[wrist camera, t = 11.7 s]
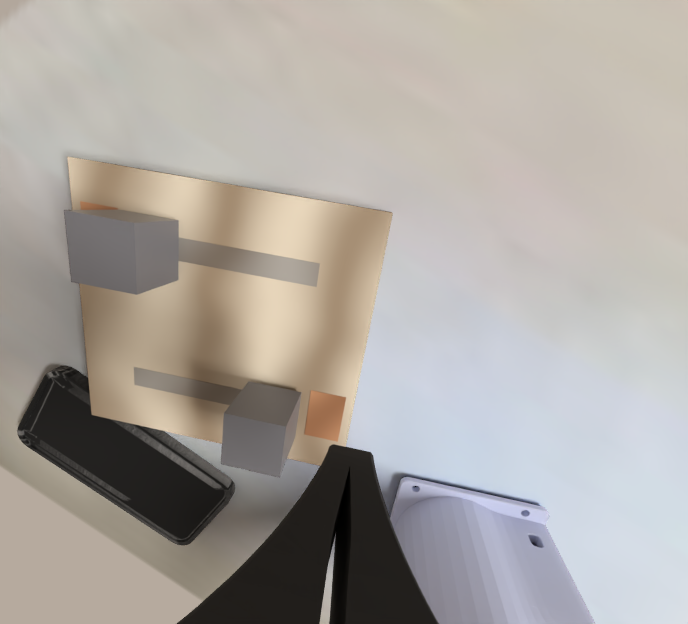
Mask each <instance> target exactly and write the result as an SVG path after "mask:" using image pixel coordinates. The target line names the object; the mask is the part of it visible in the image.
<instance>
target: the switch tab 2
mask: <svg viewBox="0 0 688 624" xmlns="http://www.w3.org/2000/svg"><path fill="white" fill-rule="evenodd" d="M301 393H302V392H298V391H293V390H288V389H283V388H279V387H274V386H269V385H264V384H260V383H255V382H250V381H249V382H248V383H247V384H246V385H245V387H244V388H243V389H242V391H241V392H240V393H239V394H238V396H237V397H236V398H235V399H234V401H233V402H232V403H231V405H230V406H229V407H228V408H227V410H226V411H225V412H224V418H223V436H222V454H221V464H223V465H227V466H232V467H236V468H241V469H245V470H249V471H254V472H258V473H263V474H267V475H271V476H276V477H280V475H281V473H282V470H283V467H284V465H285V462H286V460H287V457H288V455H289V452H290V449H291V447H292V444H293V442H294V439H295V435H296V428H297V421H298V414H299V407H300V400H301Z"/></svg>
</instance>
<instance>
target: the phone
mask: <svg viewBox="0 0 688 624" xmlns="http://www.w3.org/2000/svg"><path fill="white" fill-rule="evenodd" d="M17 432H18V436H19V438H20V440H21V441H22V442H23V443H24V444H25V445H26V446H27V447H29V448H30V449H32V450H33V451H35V452H36V453H38V454H39V455H41V456H42V457H44V458H46V459H47V460H49V461H50V462H52V463H53V464H55V465H56V466H58V467H59V468H61V469H62V470H64V471H65V472H67V473H68V474H70V475H71V476H73V477H74V478H76V479H77V480H79V481H80V482H82V483H83V484H85V485H87V486H88V487H90V488H91V489H93V490H94V491H96V492H97V493H99V494H100V495H102V496H103V497H105V498H106V499H108V500H109V501H111V502H112V503H114V504H115V505H117V506H118V507H120V508H121V509H123V510H124V511H126V512H127V513H129V514H130V515H132V516H133V517H135V518H137V519H138V520H140V521H141V522H143V523H144V524H146V525H147V526H149V527H150V528H152V529H153V530H155V531H156V532H158V533H159V534H161V535H162V536H164V537H165V538H167V539H168V540H170V541H171V542H173V543H175V544H178V545H188V544H190V543H191V542H192V541H193V540H194V539H195V538H196V537H197V536H198V535H199V534H200V533H201V532H202V530H203V529H204V528H205V527H206V526H207V525H208V524H209V523H210V522H211V521H212V520H213V519H214V518H215V516H216V515H217V514H218V513H219V512H220V511H221V510H222V509H223V508H224V507H225V506H226V505H227V504H228V502H229V501H230V499H231V497H232V495H233V493H234V491H235V485H234V483H233V481H232V480H231V479H230V478H229V477H228V476H227V475H225V474H224V473H223V472H221V471H220V470H218V469H217V468H215V467H214V466H213V465H211V464H210V463H208V462H207V461H205V460H204V459H203V458H201V457H200V456H198V455H197V454H195V453H194V452H193V451H191V450H190V449H188V448H187V447H185V446H184V445H183V444H181V443H180V442H178V441H177V440H175V439H174V438H173V437H171V436H170V435H168V434H167V433H166V432H164V431H162V430H158V429H153V428H149V427H144V426H140V425H135V424H131V423H126V422H122V421H117V420H113V419H108V418H104V417H99V416H95V415H92V412H91V402H90V391H89V380H88V378H87V377H86V376H84V375H83V374H81V373H80V372H79V371H77V370H76V369H74V368H72V367H68V366H61V367H59V368H57V369H55V370H53V371H51V372H49V373H47V374H46V375H45V376H44V378H43V380H42V382H41V384H40V386H39V388H38V390H37V392H36V394H35V396H34V397H33V399H32V401H31V403H30V405H29V407H28V409H27V411H26V413H25V415H24V417H23V419H22V421H21V423H20V425H19V426H18V430H17Z"/></svg>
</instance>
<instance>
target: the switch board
mask: <svg viewBox="0 0 688 624" xmlns="http://www.w3.org/2000/svg"><path fill="white" fill-rule="evenodd" d="M67 158H68V168H69V179H70V190H71V200H72V210H125V211H131V212H136V213H142V214H147V215H153V216H158V217H164V218H169V219H175V220H179V260H178V280H177V281H175V282H172V283H169V284H166V285H163V286H160V287H158V288H155V289H152V290H149V291H146V292H143V293H141V294H138V295H135V294H130V293H125V292H120V291H115V290H110V289H105V288H100V287H95V286H90V285H85V284H80V283H79V285H80V296H81V306H82V317H83V327H84V338H85V349H86V359H87V370H88V380H89V391H90V402H91V412H92V415H95V416H99V417H104V418H108V419H113V420H117V421H122V422H126V423H131V424H135V425H140V426H144V427H149V428H153V429H158V430H162V431H167V432H171V433H176V434H180V435H185V436H189V437H194V438H198V439H203V440H207V441H212V442H216V443H221V444H222V436H223V418H224V412H225V411H226V410H227V408H228V407H229V406H230V405H231V403H232V402H233V401H234V399H235V398H236V397H237V396H238V394H239V393H240V392H241V391H242V389H243V388H244V387H245V385H246V384H247V383H248V382H249V381H250V382H255V383H260V384H264V385H269V386H274V387H279V388H283V389H288V390H293V391H298V392H302V393H301V400H300V407H299V414H298V421H297V428H296V435H295V439H294V442H293V444H292V447H291V449H290V452H289V455H288V457H287V458H288V459H293V460H297V461H302V462H306V463H311V464H315V465H319V466H321V464H322V462H323V460H324V458H325V456H326V454H327V452H328V449H329V446H331V445H333V444H335V445H339V446H344V447H346V442H347V437H348V432H349V427H350V422H351V417H352V412H353V407H354V402H355V397H356V393H357V388H358V383H359V378H360V373H361V368H362V363H363V358H364V353H365V348H366V343H367V338H368V333H369V328H370V323H371V318H372V313H373V308H374V304H375V299H376V294H377V289H378V284H379V279H380V274H381V269H382V264H383V259H384V254H385V249H386V244H387V239H388V234H389V229H390V224H391V219H392V215H393V213H392V212H386V211H380V210H374V209H369V208H363V207H357V206H351V205H346V204H340V203H334V202H328V201H323V200H317V199H311V198H305V197H300V196H294V195H288V194H282V193H276V192H271V191H265V190H259V189H253V188H248V187H242V186H236V185H230V184H225V183H219V182H213V181H207V180H202V179H196V178H190V177H184V176H179V175H173V174H167V173H161V172H156V171H150V170H144V169H138V168H132V167H127V166H121V165H115V164H109V163H104V162H98V161H91V160H85V159H79V158H73V157H67Z"/></svg>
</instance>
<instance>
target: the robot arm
mask: <svg viewBox="0 0 688 624" xmlns="http://www.w3.org/2000/svg"><path fill="white" fill-rule="evenodd" d="M413 486H418V487H413ZM524 510H525V511H524ZM548 519H549V513H548V511H547V509H546V508H545V507H542V506H538V505H533V504H529V503H524V502H520V501H515V500H511V499H506V498H502V497H497V496H493V495H488V494H484V493H479V492H474V491H470V490H465V489H461V488H456V487H452V486H447V485H443V484H438V483H434V482H429V481H425V480H420V479H416V478H411V477H404V478H402V479H401V481H400V483H399V487H398V490H397V494H396V498H395V501H394V505H393V508H392V512H391V516H390V517H389V514H388V511H387V508H386V505H385V502H384V499H383V496H382V493H381V489H380V486H379V482H378V478H377V474H376V470H375V465H374V459H373V455H372V454H371V452H367V451H362V450H358V449H353V448H349V447H344V446H339V445H335V444H333V445H331V446H329V449H328V452H327V454H326V456H325V458H324V460H323V462H322V464H321V466H320V468H319V469H318V471H317V473H316V475H315V476H314V478H313V479H312V481H311V482H310V484H309V485H308V487H307V488H306V490H305V492H304V493H303V494H302V496H301V497H300V499H299V500H298V501H297V503H296V504H295V505H294V507H293V508H292V509H291V510H290V512H289V513H288V514H287V516H286V517H285V518H284V520H283V521H282V522H281V523H280V524H279V526H278V527H277V528H276V529H275V530H274V532H273V533H272V534H271V535H270V536H269V537H268V538H267V539H266V541H265V542H264V543H263V544H262V545H261V546H260V547H259V548H258V549H257V550H256V551H255V552H254V553H253V554H252V556H251V557H250V558H249V559H248V560H247V561H246V562H245V563H244V564H243V565H242V566H241V567H240V568H239V569H238V570H237V571H236V572H235V573H234V574H233V575H232V576H231V577H230V578H229V579H227V580H226V581H225V582H224V583H223V584H222V585H221V586H220V587H219V588H217V589H216V590H215V591H214V592H213V593H212V594H211V595H210V596H209V597H208V598H206V599H205V600H204V601H203V602H202V603H201V604H200V605H199V606H198V607H196V608H195V609H194V610H193V611H192V612H191V613H189V614H188V615H187V616H186V617H184V618H183V619H182V620H181V621H179V622H178V623H177V624H319V622H320V615H321V608H322V601H323V594H324V587H325V580H326V573H327V567H328V562H329V558H330V554H331V550H332V546H333V542H334V537H335V533H336V539H335V553H334V567H333V582H332V596H331V610H330V622H329V624H595V622H594V620H593V618H592V616H591V614H590V612H589V610H588V608H587V606H586V604H585V602H584V600H583V598H582V596H581V594H580V592H579V590H578V588H577V586H576V584H575V582H574V580H573V578H572V576H571V574H570V572H569V571H568V569H567V567H566V565H565V563H564V561H563V559H562V557H561V555H560V553H559V551H558V549H557V547H556V545H555V543H554V541H553V539H552V537H551V535H550V533H549V531H548V529H547V527H546V523H547V521H548Z"/></svg>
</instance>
